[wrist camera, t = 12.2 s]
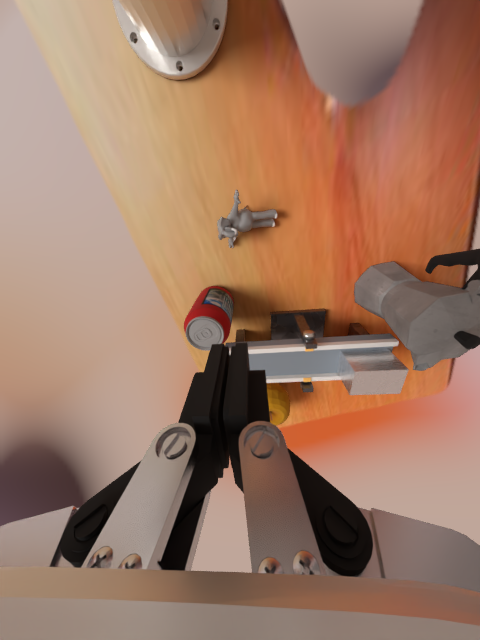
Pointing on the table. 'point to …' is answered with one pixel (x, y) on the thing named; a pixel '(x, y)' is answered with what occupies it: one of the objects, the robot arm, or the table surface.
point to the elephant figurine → (243, 221)
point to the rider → (371, 371)
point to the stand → (301, 330)
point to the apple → (278, 403)
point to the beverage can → (210, 318)
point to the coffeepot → (425, 308)
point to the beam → (308, 356)
